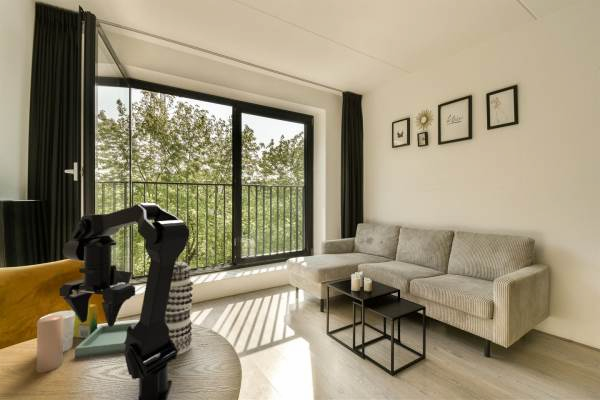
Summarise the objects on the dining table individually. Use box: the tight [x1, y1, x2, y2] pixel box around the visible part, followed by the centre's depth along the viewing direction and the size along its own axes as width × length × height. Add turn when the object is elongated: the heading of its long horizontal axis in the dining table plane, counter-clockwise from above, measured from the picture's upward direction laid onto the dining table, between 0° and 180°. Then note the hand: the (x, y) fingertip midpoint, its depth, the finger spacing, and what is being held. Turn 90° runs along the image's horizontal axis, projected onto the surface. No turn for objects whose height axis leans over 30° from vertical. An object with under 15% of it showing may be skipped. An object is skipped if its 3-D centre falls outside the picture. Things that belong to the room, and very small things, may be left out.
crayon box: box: [70, 301, 98, 339], centre depth 89 cm, size 7×3×12 cm, turn 81°
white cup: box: [39, 310, 75, 353], centre depth 80 cm, size 8×8×10 cm
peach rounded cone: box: [36, 315, 64, 373], centre depth 72 cm, size 5×5×12 cm
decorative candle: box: [164, 261, 194, 356], centre depth 81 cm, size 9×9×25 cm
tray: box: [74, 321, 139, 359], centre depth 85 cm, size 15×15×3 cm
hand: (97, 323), depth 69 cm, fingers open, 9 cm apart
